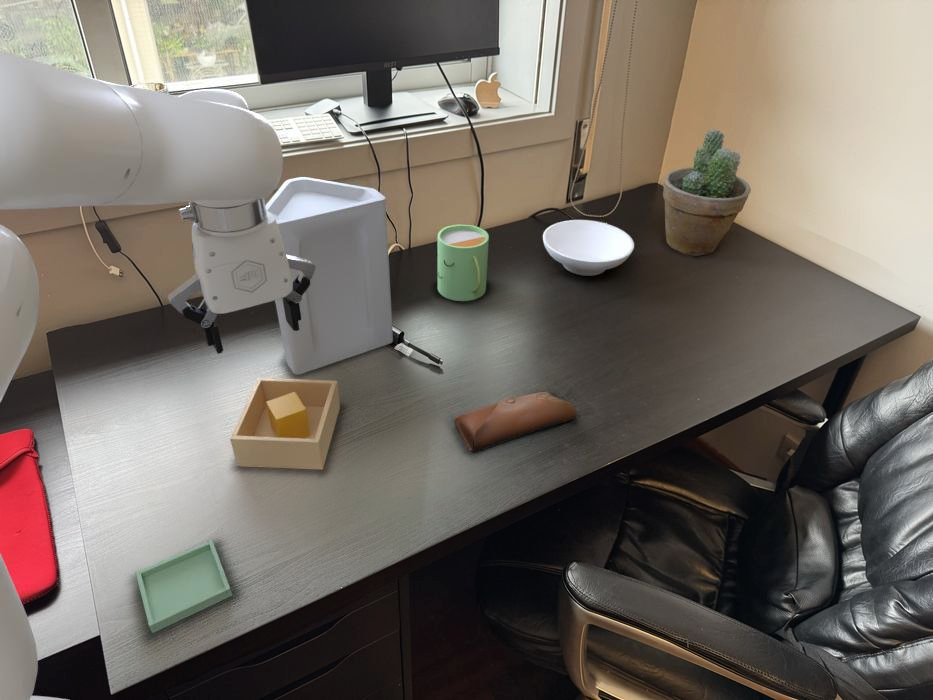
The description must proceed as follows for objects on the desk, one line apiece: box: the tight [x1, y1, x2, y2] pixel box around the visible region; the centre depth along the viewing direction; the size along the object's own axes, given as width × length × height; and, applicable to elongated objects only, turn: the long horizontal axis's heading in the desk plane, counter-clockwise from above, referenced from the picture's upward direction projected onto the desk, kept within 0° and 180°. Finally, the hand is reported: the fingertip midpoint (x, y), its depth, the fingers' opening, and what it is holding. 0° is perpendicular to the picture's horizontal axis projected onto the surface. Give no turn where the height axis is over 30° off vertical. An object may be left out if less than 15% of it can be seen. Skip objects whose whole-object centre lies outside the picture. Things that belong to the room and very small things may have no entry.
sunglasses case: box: [454, 391, 577, 453], centre depth 100 cm, size 18×7×7 cm
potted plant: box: [662, 129, 752, 257], centre depth 143 cm, size 18×19×25 cm
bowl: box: [542, 219, 635, 277], centre depth 139 cm, size 20×20×7 cm
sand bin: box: [229, 377, 341, 471], centre depth 96 cm, size 13×12×6 cm
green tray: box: [135, 539, 233, 634], centre depth 76 cm, size 9×8×2 cm
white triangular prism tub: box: [265, 176, 394, 376], centre depth 109 cm, size 19×15×28 cm
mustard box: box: [266, 392, 310, 438], centre depth 95 cm, size 4×4×6 cm
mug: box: [435, 224, 490, 302], centre depth 128 cm, size 13×10×12 cm
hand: (256, 336), depth 81 cm, fingers open, 9 cm apart
